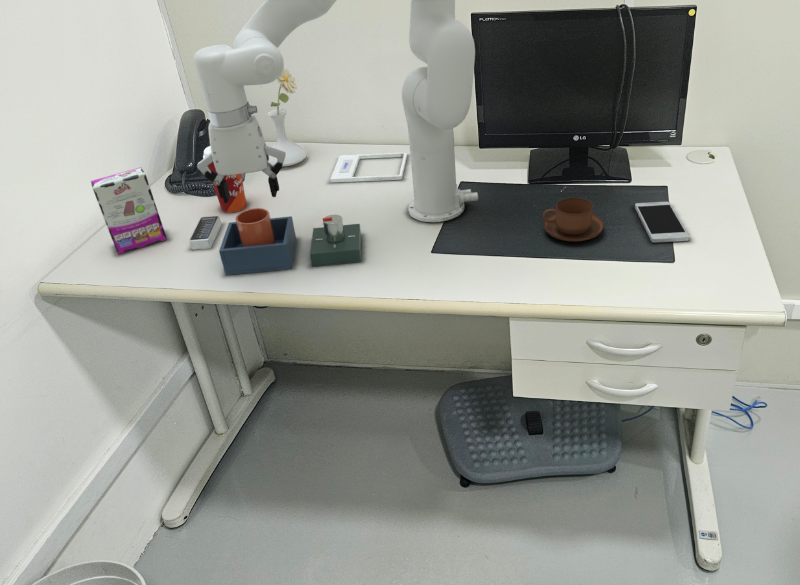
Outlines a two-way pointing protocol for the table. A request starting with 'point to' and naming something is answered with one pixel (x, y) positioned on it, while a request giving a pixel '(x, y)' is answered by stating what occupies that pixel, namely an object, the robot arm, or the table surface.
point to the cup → (255, 227)
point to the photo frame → (349, 164)
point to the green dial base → (336, 247)
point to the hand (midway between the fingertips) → (251, 197)
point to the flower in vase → (291, 149)
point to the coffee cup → (234, 187)
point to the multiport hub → (205, 233)
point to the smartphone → (661, 222)
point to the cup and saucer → (573, 220)
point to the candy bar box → (129, 210)
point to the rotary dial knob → (333, 228)
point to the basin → (259, 250)
